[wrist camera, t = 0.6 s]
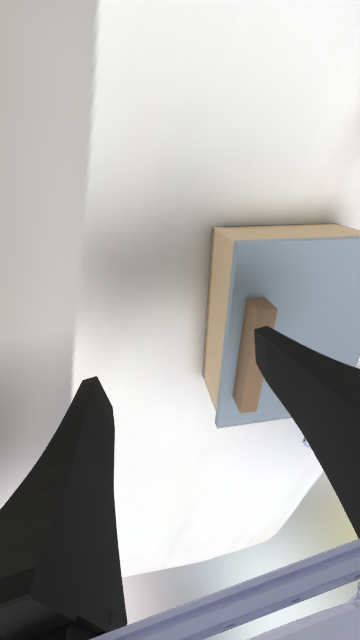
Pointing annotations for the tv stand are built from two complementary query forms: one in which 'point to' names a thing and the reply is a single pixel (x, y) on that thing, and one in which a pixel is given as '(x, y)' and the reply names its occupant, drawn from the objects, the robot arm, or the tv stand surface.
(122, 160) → the tv stand surface
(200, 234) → the tv stand surface
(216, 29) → the tv stand surface
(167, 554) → the tv stand surface
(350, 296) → the lid
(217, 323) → the light wooden box
